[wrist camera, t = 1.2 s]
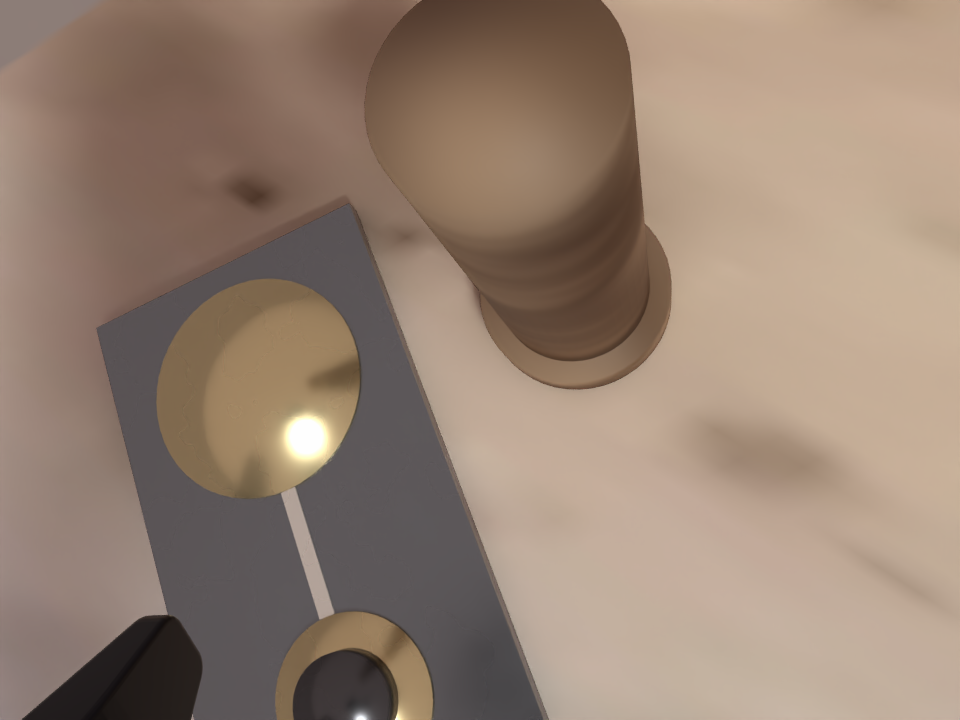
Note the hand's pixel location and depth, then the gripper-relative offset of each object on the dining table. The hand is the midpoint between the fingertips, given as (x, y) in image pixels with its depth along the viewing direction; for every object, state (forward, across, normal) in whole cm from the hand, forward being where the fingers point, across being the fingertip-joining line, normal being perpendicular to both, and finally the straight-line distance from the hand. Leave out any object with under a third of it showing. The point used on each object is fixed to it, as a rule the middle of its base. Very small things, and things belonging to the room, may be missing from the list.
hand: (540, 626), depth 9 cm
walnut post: (+16, +1, +4) cm, 16 cm away
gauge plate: (+11, +10, +8) cm, 17 cm away
